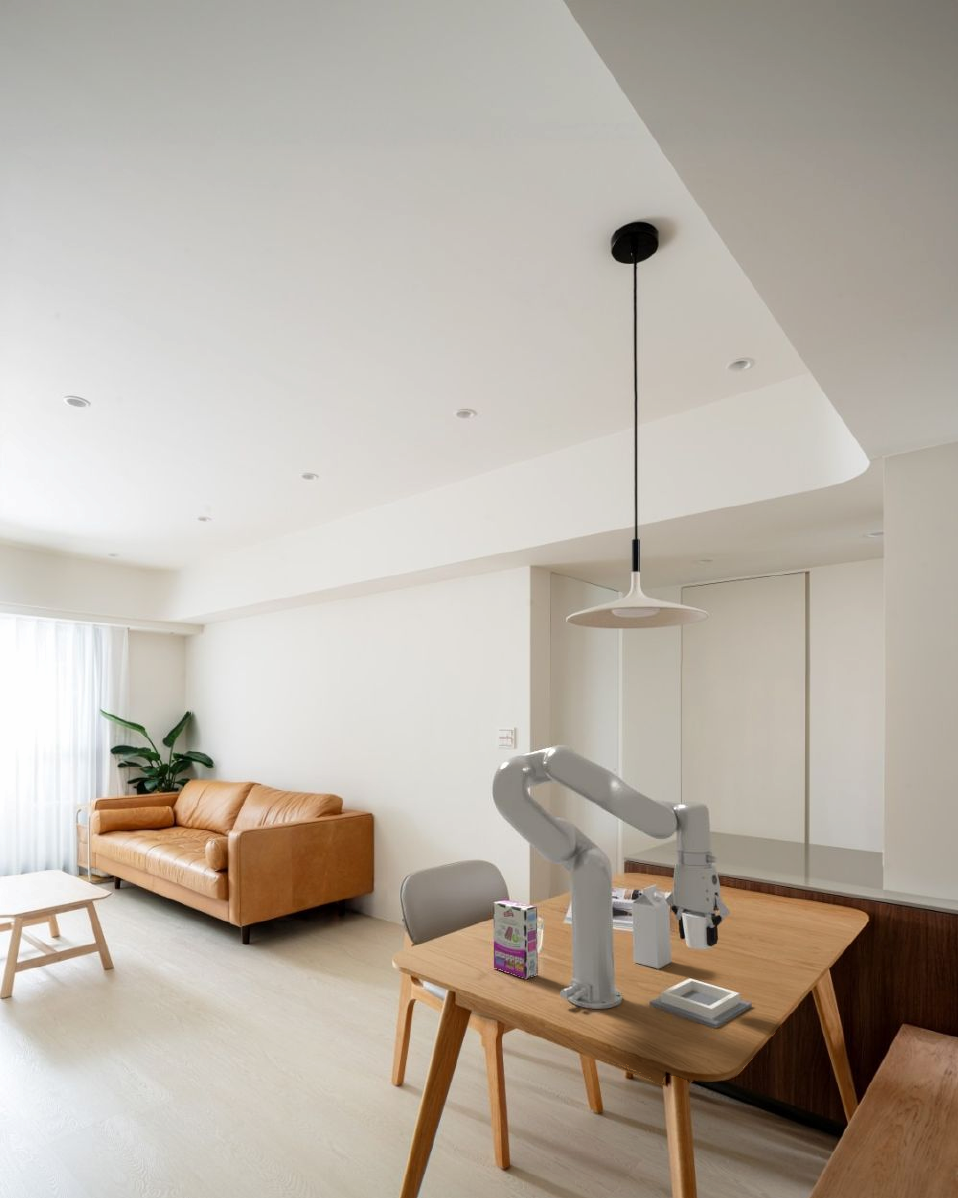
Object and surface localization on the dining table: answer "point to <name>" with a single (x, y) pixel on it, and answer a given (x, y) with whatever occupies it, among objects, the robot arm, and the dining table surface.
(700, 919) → the white cup
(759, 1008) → the dining table surface
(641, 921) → the milk carton
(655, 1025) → the dining table surface
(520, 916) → the candy bar box
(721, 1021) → the holder tray
